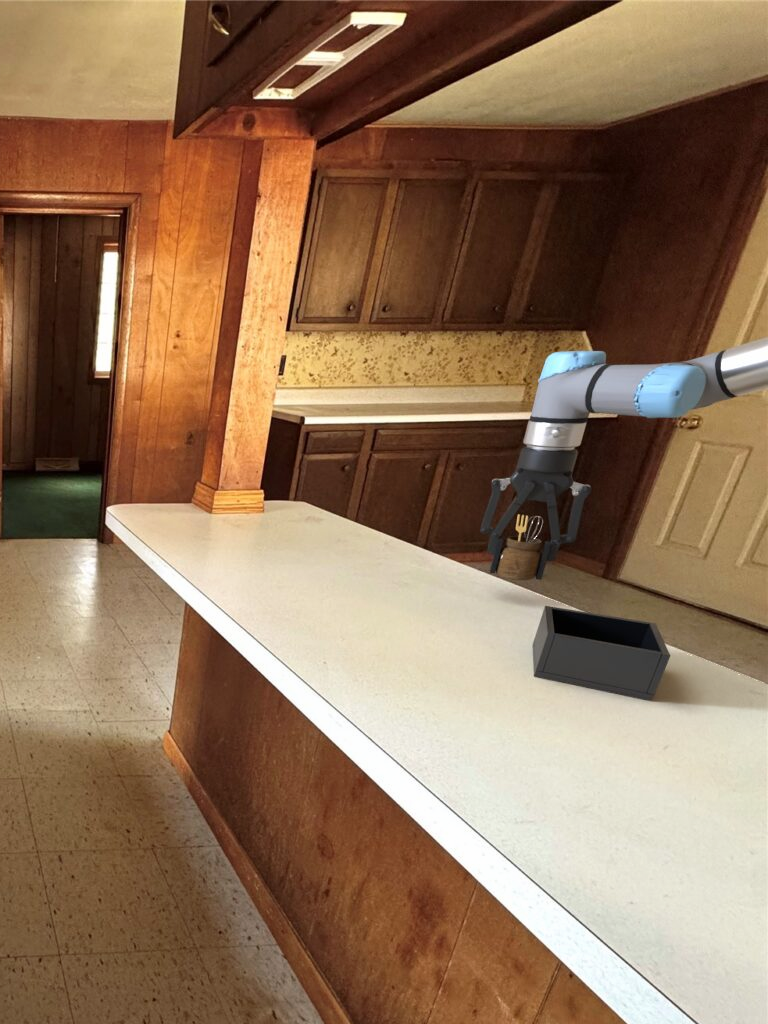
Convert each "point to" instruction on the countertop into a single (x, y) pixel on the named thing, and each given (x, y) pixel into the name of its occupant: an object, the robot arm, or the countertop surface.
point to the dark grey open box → (600, 652)
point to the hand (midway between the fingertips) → (515, 573)
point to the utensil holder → (520, 554)
